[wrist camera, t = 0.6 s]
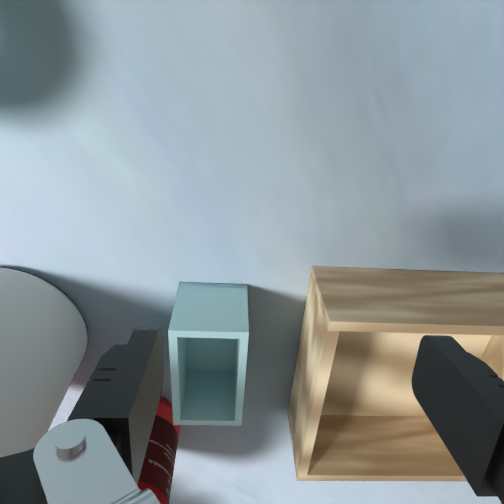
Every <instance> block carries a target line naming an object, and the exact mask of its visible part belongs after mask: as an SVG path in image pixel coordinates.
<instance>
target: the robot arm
mask: <svg viewBox="0 0 504 504" xmlns="http://www.w3.org/2000/svg"><path fill="white" fill-rule="evenodd" d="M162 386H163V348H162V331H161V329H152V328H135V329H134V331H133V333H132V336H131V338H130V340H129V342H128V344H127V345H115V346H113V347H112V348H111V349H110V350H108V351H107V352H106V353H105V354H104V355H102V357H101V359H100V361H99V363H98V364H97V366H96V369H95V371H94V372H93V374H92V375H91V377H90V381H88V383H87V385H86V387H85V388H84V390H83V392H82V394H81V396H80V398H79V400H78V401H77V403H76V405H75V407H74V409H73V411H72V413H71V414H70V416H69V418H68V420H67V422H64V423H62V424H59V425H57V426H56V427H54V428H52V429H51V430H49V431H48V432H47V433H46V434H45V435H44V436H43V437H42V438H41V439H40V440H39V441H38V443H37V445H36V447H35V448H33V449H30V450H27V451H24V452H20V453H16V454H12V455H8V456H4V457H0V504H160V502H159V501H158V499H157V497H156V496H155V494H154V493H153V492H152V491H151V490H150V489H149V488H145V489H144V490H142V491H141V490H140V489H139V488H138V486H137V484H138V481H139V477H140V473H141V469H142V465H143V461H144V458H145V454H146V450H147V446H148V442H149V438H150V434H151V431H152V427H153V423H154V419H155V415H156V411H157V408H158V404H159V400H160V396H161V392H162ZM412 390H413V393H414V396H415V398H416V399H417V401H418V403H419V404H420V406H421V407H422V409H423V411H424V412H425V414H426V415H427V417H428V419H429V420H430V422H431V423H432V425H433V427H434V428H435V430H436V431H437V433H438V435H439V436H440V438H441V439H442V441H443V443H444V444H445V446H446V447H447V449H448V451H449V452H450V454H451V455H452V457H453V459H454V460H455V462H456V463H457V465H458V467H459V468H460V470H461V471H462V473H463V475H464V476H465V478H466V479H467V481H468V483H469V484H470V486H471V487H472V489H473V491H474V492H475V494H476V495H477V496H498V498H499V499H500V501H501V502H502V503H501V504H504V381H503V380H502V379H501V378H498V375H497V374H496V373H495V372H494V371H493V370H492V369H491V368H490V367H489V366H488V365H487V364H486V363H485V362H483V361H482V360H480V359H479V358H477V357H476V356H474V355H472V354H471V353H469V352H466V351H465V350H464V349H463V348H462V346H461V345H460V344H459V343H458V342H457V341H456V340H455V339H454V338H453V337H451V336H443V335H425V336H423V337H422V339H421V341H420V344H419V349H418V353H417V357H416V361H415V365H414V369H413V374H412Z"/></svg>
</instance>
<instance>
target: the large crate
mask: <svg viewBox="0 0 504 504" xmlns="http://www.w3.org/2000/svg"><path fill="white" fill-rule="evenodd" d="M425 335H443V336H451V337H453V338H454V339H455V340H456V341H457V342H458V343H459V344H460V345H461V346H462V348H463V349H464V350H465V351H466V352H469V353H471V354H472V355H474V356H476V357H477V358H479V359H480V360H482V361H483V362H485V363H486V364H487V365H488V366H489V367H490V368H491V369H492V370H493V371H494V372H495V373H496V374H497V375H498V378H501V379H502V380H503V381H504V273H477V272H450V271H424V270H397V269H370V268H344V267H317V266H312V268H311V274H310V281H309V287H308V293H307V299H306V305H305V311H304V317H303V323H302V330H301V336H300V342H299V348H298V354H297V360H296V366H295V373H294V379H293V385H292V391H291V397H290V403H289V409H288V418H289V425H290V433H291V440H292V447H293V455H294V462H295V470H296V477H297V481H467V479H466V478H465V476H464V475H463V473H462V471H461V470H460V468H459V467H458V465H457V463H456V462H455V460H454V459H453V457H452V455H451V454H450V452H449V451H448V449H447V447H446V446H445V444H444V443H443V441H442V439H441V438H440V436H439V435H438V433H437V431H436V430H435V428H434V427H433V425H432V423H431V422H430V420H429V419H428V417H427V415H426V414H425V412H424V411H423V409H422V407H421V406H420V404H419V403H418V401H417V399H416V398H415V396H414V393H413V390H412V374H413V369H414V365H415V361H416V357H417V353H418V349H419V344H420V341H421V339H422V337H423V336H425Z"/></svg>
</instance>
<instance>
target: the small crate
mask: <svg viewBox="0 0 504 504" xmlns="http://www.w3.org/2000/svg"><path fill="white" fill-rule="evenodd" d="M168 339H169V357H170V375H171V393H172V411H173V425H213V426H242V416H243V403H244V390H245V377H246V364H247V351H248V339H249V321H248V296H247V284H220V283H191V282H179V286H178V291H177V295H176V299H175V303H174V307H173V312H172V316H171V320H170V324H169V328H168Z"/></svg>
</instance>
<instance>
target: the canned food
mask: <svg viewBox="0 0 504 504" xmlns="http://www.w3.org/2000/svg"><path fill="white" fill-rule="evenodd" d="M179 428H180V425H173V411H172V404H171V403H170V402H168V401H167V400H165V399H163V398H161V397H160V400H159V404H158V408H157V411H156V415H155V419H154V423H153V427H152V431H151V434H150V438H149V442H148V446H147V450H146V454H145V458H144V461H143V465H142V469H141V473H140V477H139V481H138V484H137V486H138V488H139V489H140V490H141V491H142V490H144V489H145V488H149V489H150V490H151V491H152V492H153V493H154V494H155V496H156V497H157V499H158V501H159V502H160V504H169V498H170V491H171V484H172V477H173V470H174V463H175V456H176V449H177V442H178V435H179Z"/></svg>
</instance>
